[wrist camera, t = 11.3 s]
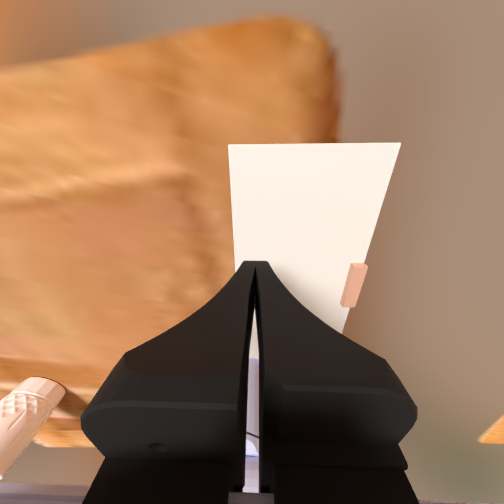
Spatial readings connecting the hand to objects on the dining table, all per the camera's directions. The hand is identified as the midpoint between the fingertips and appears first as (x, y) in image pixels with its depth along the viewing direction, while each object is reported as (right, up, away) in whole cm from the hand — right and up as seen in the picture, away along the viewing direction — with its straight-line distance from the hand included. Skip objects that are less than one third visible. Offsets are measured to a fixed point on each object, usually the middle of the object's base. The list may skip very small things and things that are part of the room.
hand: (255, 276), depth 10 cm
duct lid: (+4, -1, +6) cm, 7 cm away
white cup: (-37, -23, +23) cm, 49 cm away
